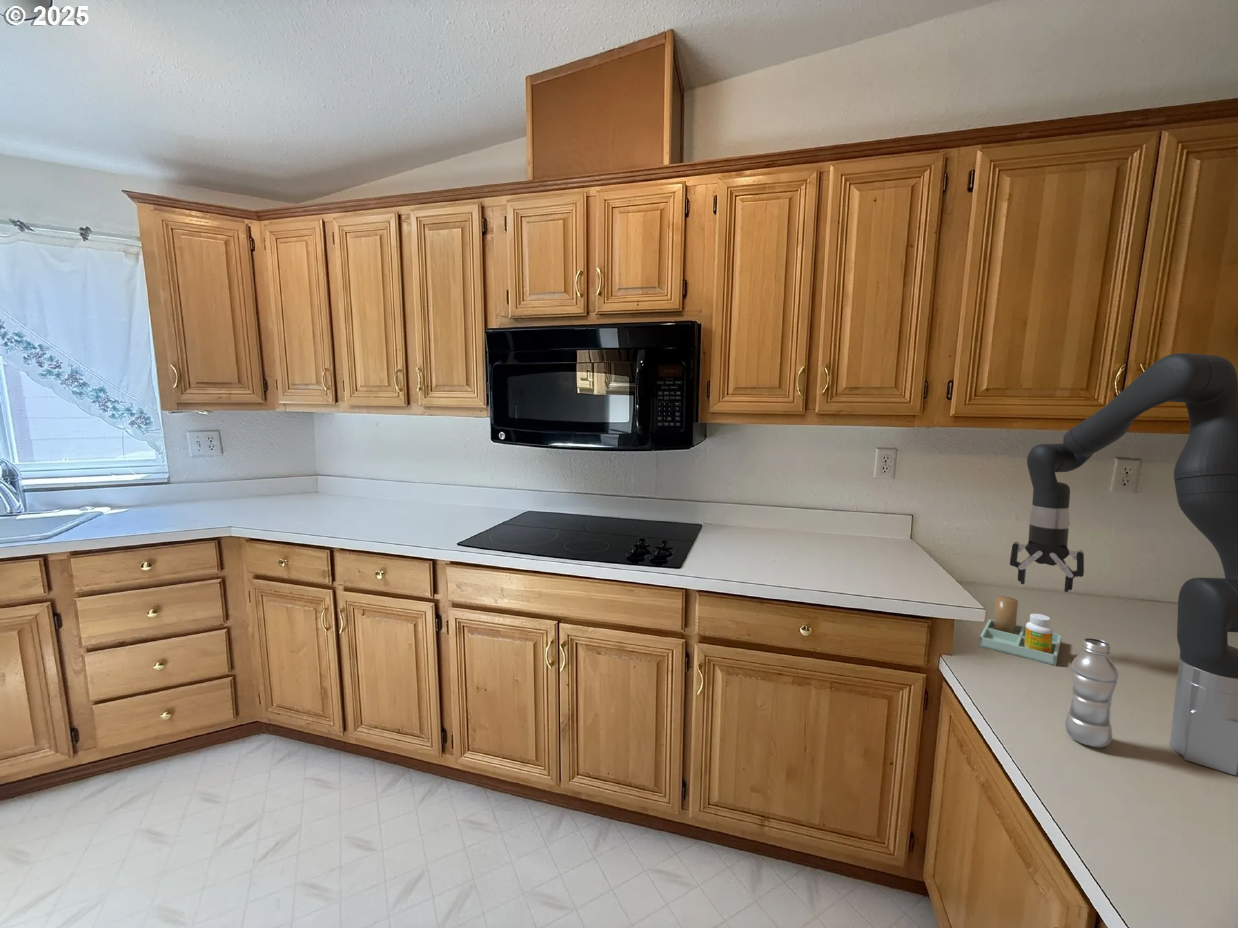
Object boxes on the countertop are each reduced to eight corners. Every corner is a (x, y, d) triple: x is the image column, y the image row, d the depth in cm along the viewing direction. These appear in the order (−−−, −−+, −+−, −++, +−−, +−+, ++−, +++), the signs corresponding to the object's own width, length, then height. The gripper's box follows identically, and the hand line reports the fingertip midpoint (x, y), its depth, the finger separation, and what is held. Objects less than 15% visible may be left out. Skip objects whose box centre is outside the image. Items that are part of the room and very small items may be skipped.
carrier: (1055, 665, 128) (1056, 656, 127) (978, 646, 138) (979, 637, 138) (1060, 643, 139) (1061, 634, 139) (988, 626, 150) (989, 618, 150)
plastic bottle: (1063, 726, 104) (1071, 631, 102) (1109, 739, 100) (1119, 640, 98) (1064, 743, 99) (1073, 643, 97) (1113, 757, 95) (1123, 653, 93)
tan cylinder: (1014, 639, 141) (1016, 604, 140) (992, 634, 144) (994, 599, 143) (1016, 633, 144) (1018, 599, 143) (995, 628, 147) (997, 594, 146)
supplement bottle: (1026, 655, 132) (1029, 618, 131) (1021, 646, 137) (1024, 610, 136) (1053, 659, 130) (1056, 622, 128) (1047, 650, 134) (1050, 614, 133)
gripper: (1011, 522, 131) (1007, 584, 133) (1087, 531, 121) (1081, 598, 123) (1015, 517, 137) (1010, 577, 138) (1087, 525, 127) (1082, 589, 129)
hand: (1044, 587), depth 131 cm, fingers open, 8 cm apart
